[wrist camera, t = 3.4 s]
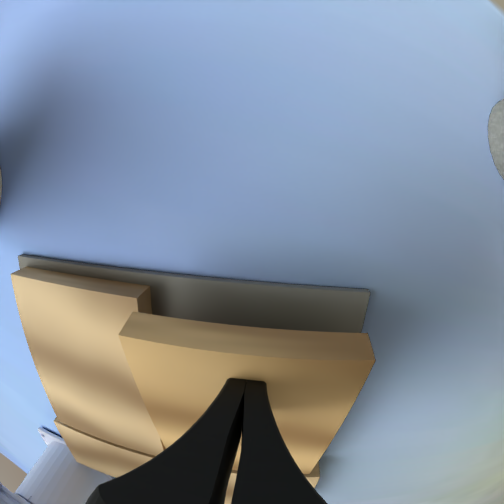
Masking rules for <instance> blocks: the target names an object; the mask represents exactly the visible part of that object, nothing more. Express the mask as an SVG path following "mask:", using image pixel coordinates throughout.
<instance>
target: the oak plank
mask: <svg viewBox="0 0 504 504" xmlns="http://www.w3.org/2000/svg"><path fill="white" fill-rule="evenodd" d="M118 336H119V339H120V342H121V345H122V348H123V351H124V353H125V356H126V359H127V362H128V364H129V367H130V370H131V372H132V375H133V377H134V380H135V383H136V385H137V387H138V390H139V392H140V395H141V397H142V399H143V402H144V404H145V406H146V408H147V411H148V413H149V415H150V417H151V419H152V422H153V424H154V426H155V428H156V430H157V432H158V434H159V436H160V438H161V440H162V442H163V444H164V446H165V448H168V447H169V446H170V445H172V444H173V443H174V442H175V441H176V440H178V439H179V438H180V437H181V436H182V435H183V434H184V433H185V432H186V431H187V430H189V429H190V428H191V426H192V425H193V424H194V423H195V422H196V421H197V420H198V419H199V418H200V417H201V416H202V415H203V413H204V412H205V411H206V410H207V408H208V407H209V406H210V405H211V403H212V402H213V401H214V399H215V398H216V397H217V395H218V394H219V392H220V391H221V389H222V388H223V386H224V384H225V382H226V380H227V379H229V378H236V379H246V380H256V381H264V382H265V383H267V393H268V398H269V402H270V406H271V410H272V413H273V416H274V418H275V421H276V424H277V426H278V429H279V431H280V434H281V436H282V438H283V440H284V442H285V444H286V446H287V448H288V450H289V452H290V454H291V455H292V457H293V459H294V461H295V462H296V464H297V465H298V467H299V469H300V470H301V472H302V473H303V474H310V472H311V471H312V470H313V468H314V467H315V465H316V464H317V462H318V461H319V459H320V458H321V456H322V455H323V453H324V452H325V450H326V449H327V447H328V446H329V444H330V443H331V441H332V439H333V438H334V436H335V435H336V433H337V431H338V430H339V428H340V426H341V425H342V423H343V421H344V420H345V418H346V416H347V414H348V413H349V411H350V409H351V407H352V405H353V404H354V402H355V400H356V398H357V396H358V394H359V393H360V391H361V389H362V387H363V385H364V383H365V381H366V379H367V377H368V375H369V373H370V371H371V369H372V367H373V365H374V363H375V357H374V353H373V349H372V346H371V342H370V339H369V336H368V333H343V332H318V331H300V330H285V329H271V328H259V327H248V326H238V325H228V324H219V323H210V322H202V321H194V320H187V319H179V318H172V317H165V316H159V315H152V314H146V313H140V312H134V311H133V312H132V313H131V315H130V317H129V318H128V320H127V321H126V323H125V325H124V326H123V328H122V329H121V331H120V333H119V334H118ZM246 382H247V381H246ZM241 440H242V434H241V439H240V443H239V446H238V450H237V454H236V457H235V461H234V464H233V468H232V470H238V465H239V460H240V454H241Z"/></svg>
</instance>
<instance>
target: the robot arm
mask: <svg viewBox="0 0 504 504" xmlns="http://www.w3.org/2000/svg"><path fill="white" fill-rule="evenodd" d="M246 381H247V382H246ZM38 431H39V433H40V435H41V436H42V438H43V440H44V441H45V443H46V444H47V448H46V449H45V451H44V452H43V453H42V455H41V456H40V457H39V459H38V460H37V462H36V463H35V464H34V466H33V467H32V469H31V470H30V471H29V473H28V474H27V476H26V477H25V479H24V480H23V481H22V483H21V484H20V486H19V487H18V489H17V490H16V492H15V493H12V492H11V491H9V490H8V489H7V488H6V487H4V486H3V485H2V483H1V482H0V504H224V503H225V497H226V491H227V487H228V482H229V479H230V475H231V472H232V468H233V464H234V461H235V457H236V454H237V450H238V446H239V443H240V439H241V434H242V440H241V454H240V460H239V465H238V470H237V476H236V481H235V486H234V491H233V496H232V501H231V504H327V503H326V502H325V500H324V499H323V498H322V497H321V496H320V495H319V494H318V493H317V491H316V490H315V489H314V488H313V486H312V485H311V484H310V482H309V481H308V480H307V478H306V477H305V476H304V474H303V473H302V472H301V470H300V469H299V467H298V465H297V464H296V462H295V461H294V459H293V457H292V455H291V454H290V452H289V450H288V448H287V446H286V444H285V442H284V440H283V438H282V436H281V434H280V431H279V429H278V426H277V424H276V421H275V418H274V416H273V413H272V410H271V406H270V402H269V398H268V393H267V383H265V382H264V381H256V380H246V379H236V378H229V379H227V380H226V382H225V384H224V386H223V388H222V389H221V391H220V392H219V394H218V395H217V397H216V398H215V399H214V401H213V402H212V403H211V405H210V406H209V407H208V408H207V410H206V411H205V412H204V413H203V415H202V416H201V417H200V418H199V419H198V420H197V421H196V422H195V423H194V424H193V425H192V426H191V428H190V429H189V430H187V431H186V432H185V433H184V434H183V435H182V436H181V437H180V438H179V439H178V440H176V441H175V442H174V443H173V444H172V445H170V446H169V447H168V448H166V449H165V450H164V451H162V452H161V453H160V454H158V455H157V456H155V457H154V458H152V459H151V460H149V461H148V462H146V463H144V464H142V465H141V466H139V467H137V468H135V469H133V470H132V471H130V472H128V473H126V474H124V475H121V476H119V477H117V478H114V479H113V477H112V476H110V475H107V474H104V473H102V472H99V471H97V470H94V469H92V468H90V467H87V466H85V465H83V464H81V463H78V462H77V461H76V460H75V458H74V456H73V455H72V453H71V452H70V450H69V448H68V446H67V445H66V443H65V441H64V439H63V438H61V437H59V436H57V435H55V434H53V433H51V432H49V431H47V430H45V429H43V428H41V427H39V428H38Z"/></svg>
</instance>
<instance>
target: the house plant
mask: <svg viewBox="0 0 504 504" xmlns="http://www.w3.org/2000/svg"><path fill="white" fill-rule="evenodd" d="M488 139H489V145H490V151H491V154H492V157H493V160H494V163H495V166H496V168H497V170H498V172H499V174H500V175H501V176H502V178H503V179H504V99H503V100H501V101H499V102H498V103H497V104H496V105H495V106H494V107H493V109H492V111H491V113H490V116H489V123H488Z"/></svg>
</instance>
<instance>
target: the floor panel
mask: <svg viewBox="0 0 504 504" xmlns="http://www.w3.org/2000/svg"><path fill="white" fill-rule="evenodd" d="M18 260H19V266H20V270H18V271H16V272H14V273H12V274H11V279H12V284H13V289H14V294H15V298H16V303H17V307H18V311H19V315H20V319H21V322H22V326H23V330H24V333H25V336H26V340H27V343H28V346H29V349H30V352H31V355H32V358H33V361H34V364H35V366H36V369H37V372H38V374H39V377H40V379H41V382H42V384H43V387H44V389H45V392H46V394H47V396H48V398H49V401H50V403H51V405H52V407H53V409H54V412H55V414H56V416H57V417H56V419H55V420H54V423H55V425H56V427H57V429H58V430H59V432H60V434H61V436H62V438H63V439H64V441H65V443H66V445H67V446H68V448H69V450H70V452H71V453H72V455H73V456H74V458H75V460H76V461H77V462H78V463H81V464H83V465H85V466H87V467H90V468H92V469H94V470H97V471H99V472H102V473H104V474H107V475H110V476H112V477H115V478H117V477H119V476H121V475H124V474H126V473H128V472H130V471H132V470H133V469H135V468H137V467H139V466H141V465H142V464H144V463H146V462H148V461H149V460H151V459H152V458H154V457H155V456H157V455H158V454H160V453H161V452H162V451H164V450H165V449H166V448H165V446H164V444H163V442H162V440H161V438H160V436H159V434H158V432H157V430H156V428H155V426H154V424H153V422H152V419H151V417H150V415H149V413H148V411H147V408H146V406H145V404H144V402H143V399H142V397H141V395H140V392H139V390H138V387H137V385H136V383H135V380H134V377H133V375H132V372H131V370H130V367H129V364H128V362H127V359H126V356H125V353H124V351H123V348H122V345H121V342H120V339H119V336H118V334H119V333H120V331H121V329H122V328H123V326H124V325H125V323H126V321H127V320H128V318H129V317H130V315H131V313H132V312H133V311H134V312H140V313H146V314H152V315H159V316H165V317H172V318H179V319H187V320H194V321H202V322H210V323H219V324H228V325H238V326H248V327H259V328H271V329H285V330H300V331H318V332H343V333H361V331H362V327H363V323H364V319H365V314H366V310H367V306H368V301H369V296H370V291H369V290H368V289H357V288H340V287H325V286H310V285H296V284H283V283H271V282H258V281H247V280H235V279H224V278H214V277H203V276H193V275H183V274H174V273H164V272H155V271H146V270H137V269H129V268H120V267H112V266H104V265H96V264H88V263H81V262H73V261H66V260H58V259H51V258H44V257H37V256H31V255H24V254H21V255H19V256H18ZM236 476H237V470H232V472H231V475H230V479H229V482H228V487H227V491H226V497H225V503H224V504H231V501H232V496H233V491H234V486H235V481H236ZM304 476H305V477H306V478H307V480H308V481H309V482H310V484H311V485H312V486H313V488H315V486H316V484H317V482H318V480H319V478H320V471H319V461H318V462H317V464H316V465H315V467H314V468H313V470H312V471H311V472H310V474H304Z"/></svg>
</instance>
